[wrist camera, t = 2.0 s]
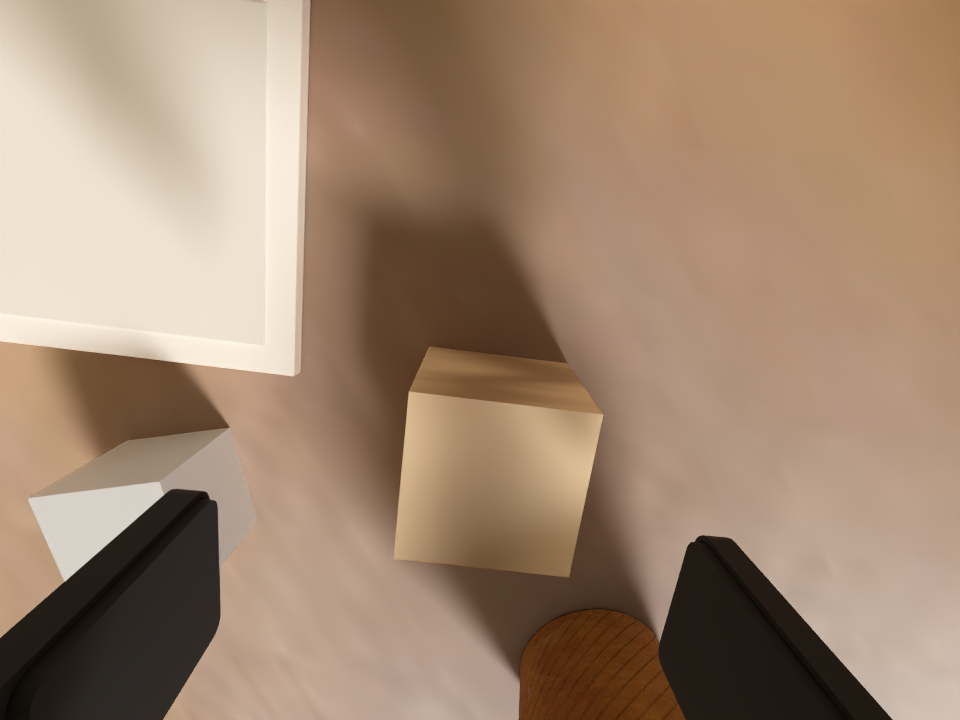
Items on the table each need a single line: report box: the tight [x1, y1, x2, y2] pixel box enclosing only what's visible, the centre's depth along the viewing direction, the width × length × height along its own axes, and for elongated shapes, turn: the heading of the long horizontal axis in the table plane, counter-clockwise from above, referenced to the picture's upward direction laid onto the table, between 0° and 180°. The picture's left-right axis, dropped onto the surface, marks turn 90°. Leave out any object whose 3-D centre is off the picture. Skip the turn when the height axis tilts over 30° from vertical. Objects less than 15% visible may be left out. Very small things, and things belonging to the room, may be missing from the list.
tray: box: [0, 0, 310, 376], centre depth 14 cm, size 12×12×1 cm
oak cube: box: [393, 346, 603, 577], centre depth 15 cm, size 5×5×5 cm
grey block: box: [28, 428, 258, 582], centre depth 16 cm, size 4×4×4 cm
